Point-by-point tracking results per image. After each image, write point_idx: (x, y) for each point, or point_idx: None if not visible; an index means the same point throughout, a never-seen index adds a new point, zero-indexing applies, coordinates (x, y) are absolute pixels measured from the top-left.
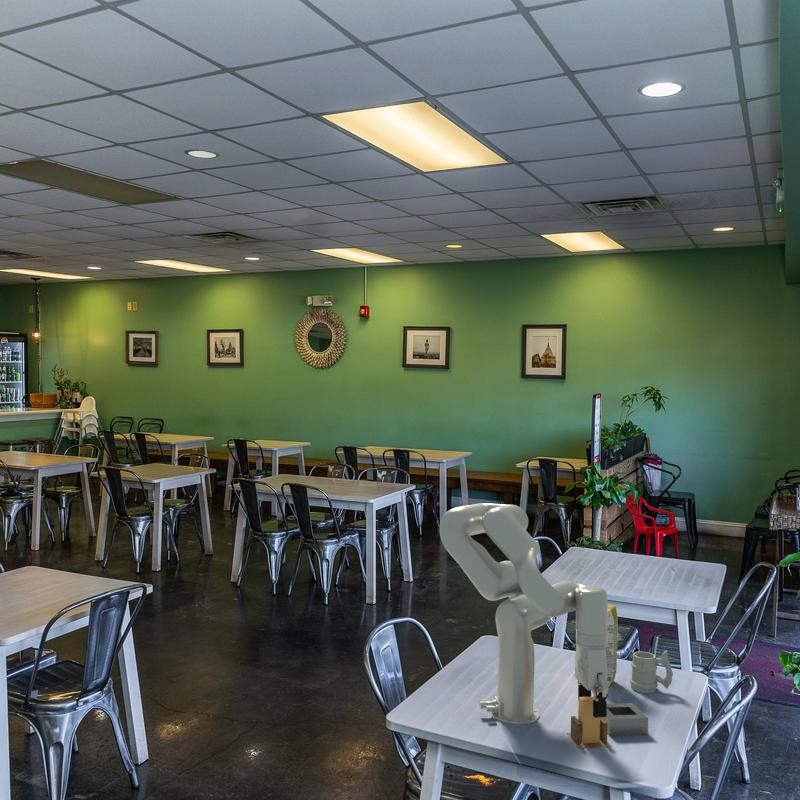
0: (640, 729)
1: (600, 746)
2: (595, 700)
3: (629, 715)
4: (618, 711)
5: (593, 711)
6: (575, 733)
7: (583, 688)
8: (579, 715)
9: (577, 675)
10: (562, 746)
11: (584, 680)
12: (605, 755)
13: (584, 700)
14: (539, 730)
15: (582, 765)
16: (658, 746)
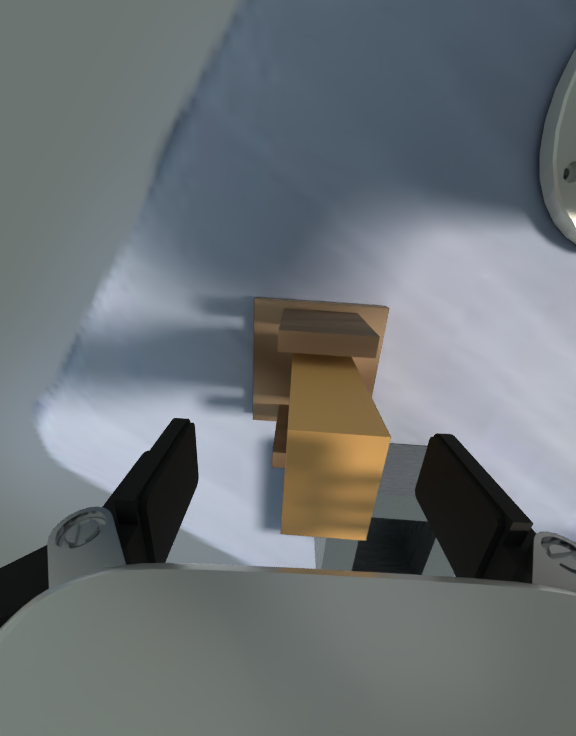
0: (317, 538)
1: (259, 386)
2: (103, 514)
3: (349, 558)
4: (421, 541)
5: (165, 436)
6: (303, 317)
7: (473, 529)
8: (343, 375)
9: (567, 693)
10: (306, 251)
11: (149, 733)
12: (222, 380)
13: (315, 450)
14: (476, 202)
15: (149, 267)
16: (264, 531)
